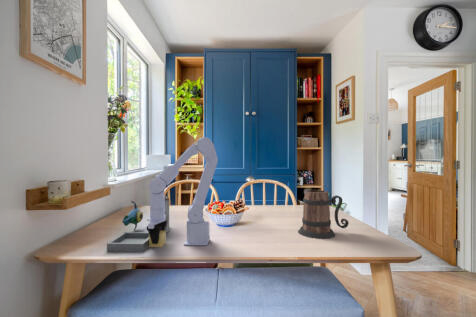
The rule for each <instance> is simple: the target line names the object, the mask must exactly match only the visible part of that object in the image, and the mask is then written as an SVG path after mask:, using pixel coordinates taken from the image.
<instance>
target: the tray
mask: <svg viewBox="0 0 476 317" xmlns="http://www.w3.org/2000/svg"><path fill="white" fill-rule="evenodd" d="M148 247H149V232H148V231H146V232H145V231H142V232H141V231H136V232H135V231H124V232H123V233H121V234H120V235H118V236H117V237H114V238H113V239H112V240H110V241H109V242H107V243H106V252H144V251H146V249H147V248H148Z"/></svg>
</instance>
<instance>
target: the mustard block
mask: <svg viewBox="0 0 476 317" xmlns="http://www.w3.org/2000/svg"><path fill="white" fill-rule="evenodd" d="M166 233H167V232H166V231H160V234H159V241H158V244H152V241H151V237H150V234H149V246H148V247H149V248H163V246H164V245H165V244H166V238H167V237H166V236H167V235H166Z"/></svg>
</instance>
